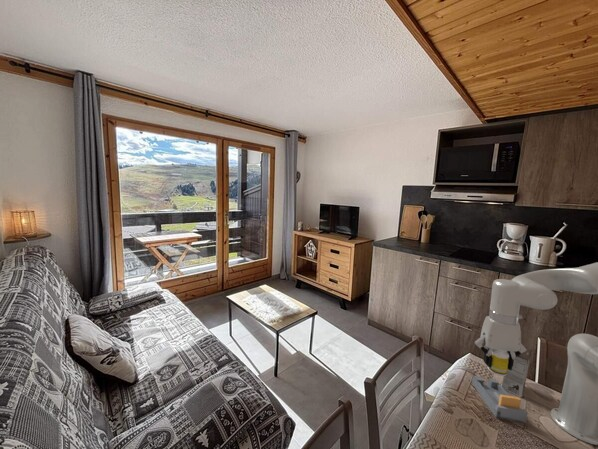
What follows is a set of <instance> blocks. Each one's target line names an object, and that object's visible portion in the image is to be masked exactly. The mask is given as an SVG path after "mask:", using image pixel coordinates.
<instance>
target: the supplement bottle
mask: <svg viewBox="0 0 598 449" xmlns="http://www.w3.org/2000/svg"><path fill="white" fill-rule="evenodd" d="M491 357H492V365H491V368H490V367H488V366H487V365H486V368H487V370H488V371H490V372H491V373H492V374H493V375H497V376H500V377H503V376H506V375H507V370H508V361H509V354H508V352H507V351H505V350H495V349H494V350H493V352H492V354H491Z"/></svg>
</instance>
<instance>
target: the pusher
mask: <svg viewBox="0 0 598 449" xmlns="http://www.w3.org/2000/svg"><path fill="white" fill-rule="evenodd" d="M493 396H494V397H495V399H496V400H497V401H498V405H500V406H507V407H513V408H520V407H521V403H522V399H521V397H519V396H512V395H510V396H507V395H501V394H500V396H499V395H498V393H497V392H493ZM520 409H521V408H520Z"/></svg>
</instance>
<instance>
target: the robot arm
mask: <svg viewBox="0 0 598 449" xmlns="http://www.w3.org/2000/svg"><path fill="white" fill-rule="evenodd" d="M554 291H564V292H565V291H567V292H573V293H579V294H583V295H584V294H585V295H586V294H587V295H598V262H597V261H596V262H593V263H590V264H586V265H582V266H579V267H578V266H577V267H564V268H551V269H550V268H549V269H548V268H547V269H541V270H534V271H533V270H532V271H530V272H526V273H523V274H519V275H516V276H514V277H513V278H512V279H506V278H498V279H497V278H496V279H495V280H493V282H492V286H491V294H490V304H489V312H488V315H487V316H485V318H484V321H483V323H482V327H481V332H480V337H479V338H477V339H476V340H475V341H474V344H475V346H477V347H478V348H479V349H480V350H481V351H482V352H483V362H484V364H485V365H486V367H487V366H488V367H490V368H491V365H492V357H491V354H492V352H493V350H494V349H495V350H505V351H507V352H508V354H509V361H508V369H509V370H512V367H513V362H514V360H515V359H516V357H517V356H519V355H520V354H521V353H523V352H525V351H526V347H525V346H524V345H523V344H522V331H521V325H520V322H519V320H523V315H522V314H520V310H521V309H520V307H521V306H522V307H527V308H531V309H535V310H550V309H552V308H555V306H556V305H557V304H558V297H557V295H556V293H555V292H554ZM484 343H485V344H484ZM483 344H484V345H483ZM566 351H567V368H566V373H565V377H564V381H563V386H562V391H561V395H560V396H561V397H560V401H559V405H558V407H554V408H551V411H550V416H551V418H552V420H553V422H555V423H556V424H557V425H558V426H559V428H561V429H563V431H564V432H566V433H568V434H570V435H571V436H573V437H574V438H577V439H578V440H581V441H583V442H584V443H587V444H590V445H595V446H598V336H595V335H593V334H590V333H577V334H574V335H573V336H571V337H570V339H569V340H568V342H567V350H566Z"/></svg>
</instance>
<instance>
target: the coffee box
mask: <svg viewBox="0 0 598 449" xmlns="http://www.w3.org/2000/svg"><path fill="white" fill-rule="evenodd" d="M525 348H526V347H525ZM531 355H532V349H530V348H526V351H525V352H523V353H521V354H520V355H519V356H517V357H516V359H515V360H514V362H513V367H512V370H509V369H508V370H507V375H506V376H502V383H501V386H502V387H503V388H504V389H505V391H506V392H507V393H508V392H509V393H510V394H513V395H515V396H516V397H519V398H520V399H521V398H523V395H524V391H525V388H526V387H525V386H526V384H527V376H528V372H529V365H530V360H531Z"/></svg>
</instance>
